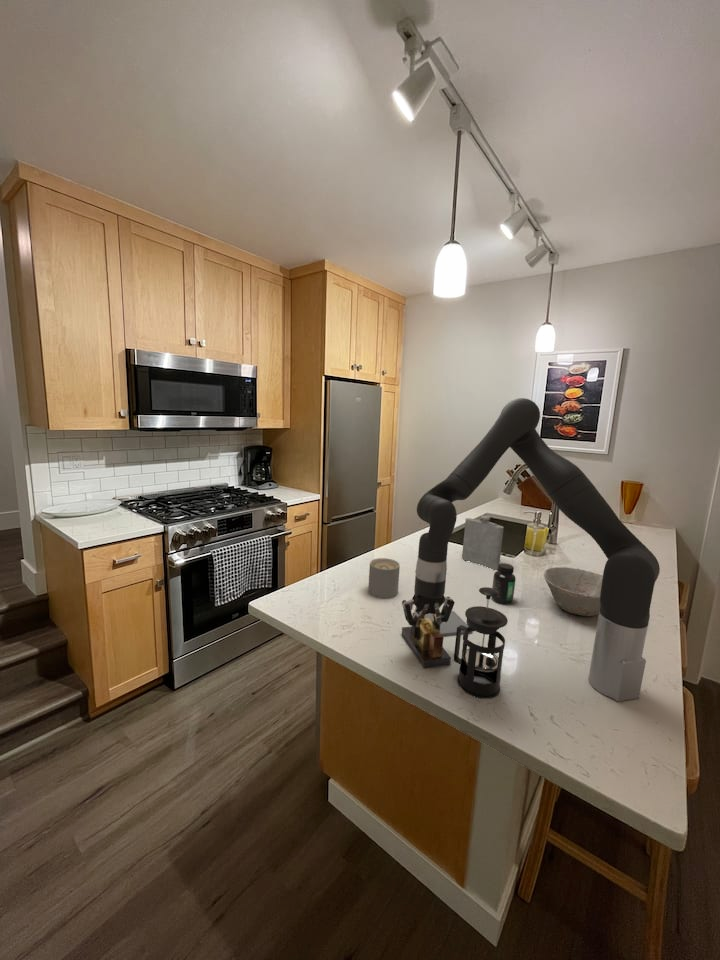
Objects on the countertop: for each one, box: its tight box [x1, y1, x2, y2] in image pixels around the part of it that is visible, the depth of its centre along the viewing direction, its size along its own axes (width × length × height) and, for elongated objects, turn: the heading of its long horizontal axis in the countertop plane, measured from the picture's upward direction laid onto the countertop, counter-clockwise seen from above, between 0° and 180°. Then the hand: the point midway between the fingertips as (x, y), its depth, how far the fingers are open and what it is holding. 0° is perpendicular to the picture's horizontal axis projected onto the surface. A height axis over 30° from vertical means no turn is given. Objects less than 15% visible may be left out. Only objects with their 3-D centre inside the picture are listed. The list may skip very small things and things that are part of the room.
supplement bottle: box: [490, 562, 517, 606], centre depth 134 cm, size 7×7×12 cm
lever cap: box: [412, 618, 440, 650], centre depth 104 cm, size 7×4×6 cm, turn 15°
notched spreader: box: [461, 515, 504, 571], centre depth 164 cm, size 16×4×20 cm, turn 47°
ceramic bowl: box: [543, 566, 603, 617], centre depth 130 cm, size 22×23×10 cm
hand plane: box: [401, 612, 452, 669], centre depth 105 cm, size 15×7×8 cm, turn 15°
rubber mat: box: [424, 610, 474, 637], centre depth 118 cm, size 11×11×1 cm
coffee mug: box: [367, 557, 401, 600], centre depth 137 cm, size 13×10×10 cm
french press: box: [453, 586, 508, 699], centre depth 91 cm, size 12×9×23 cm
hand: (425, 636), depth 105 cm, fingers closed on lever cap, 4 cm apart
